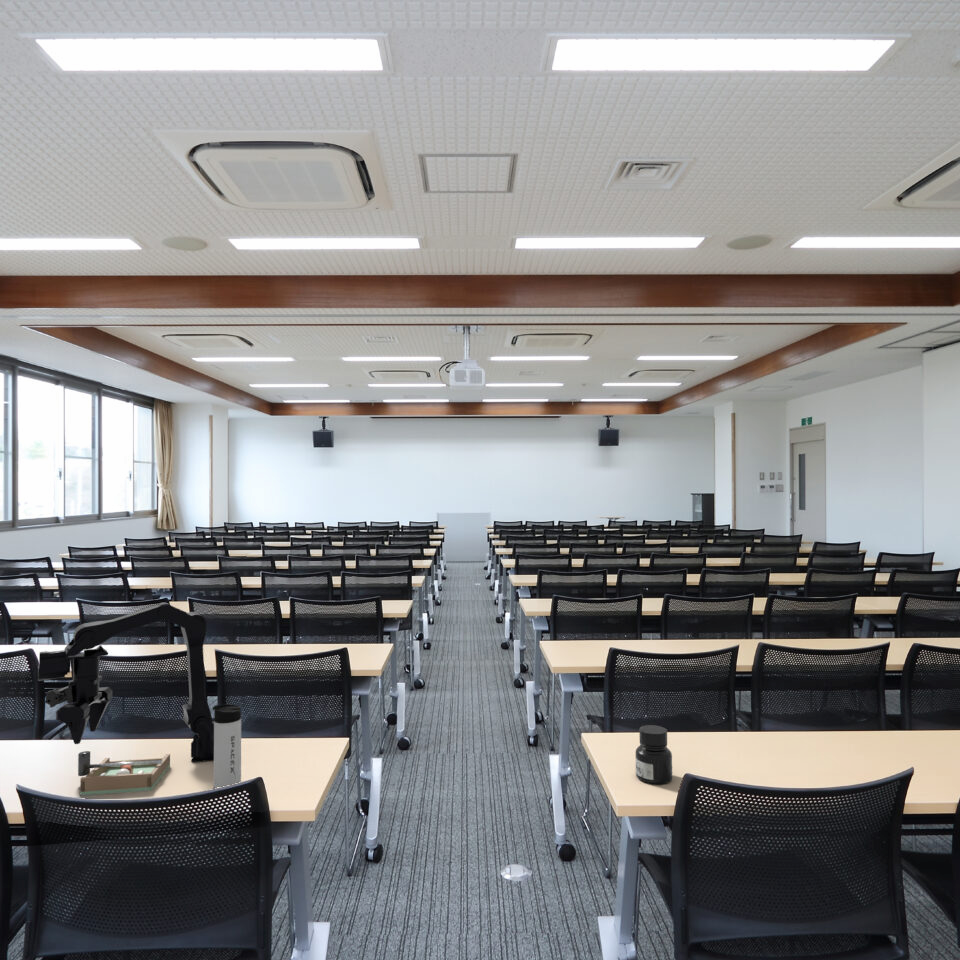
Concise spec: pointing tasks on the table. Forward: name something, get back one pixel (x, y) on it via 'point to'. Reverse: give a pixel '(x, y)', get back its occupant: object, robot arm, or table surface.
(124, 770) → the ball
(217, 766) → the travel mug
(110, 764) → the rubber mallet
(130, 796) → the table surface
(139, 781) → the pitch
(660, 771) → the ink bottle
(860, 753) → the table surface
